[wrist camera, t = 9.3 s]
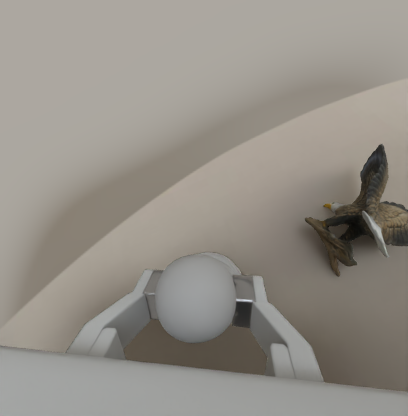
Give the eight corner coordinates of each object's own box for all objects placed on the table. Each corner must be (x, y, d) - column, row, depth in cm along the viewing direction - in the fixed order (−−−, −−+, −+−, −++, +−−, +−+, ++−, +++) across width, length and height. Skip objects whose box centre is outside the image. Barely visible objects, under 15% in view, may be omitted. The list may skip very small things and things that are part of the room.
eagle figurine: (301, 249, 20) (375, 201, 20) (375, 307, 13) (482, 236, 14) (279, 189, 16) (368, 131, 17) (364, 229, 10) (507, 135, 10)
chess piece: (172, 257, 16) (115, 235, 8) (237, 248, 16) (254, 215, 7) (177, 332, 14) (109, 415, 6) (251, 324, 14) (294, 397, 5)
